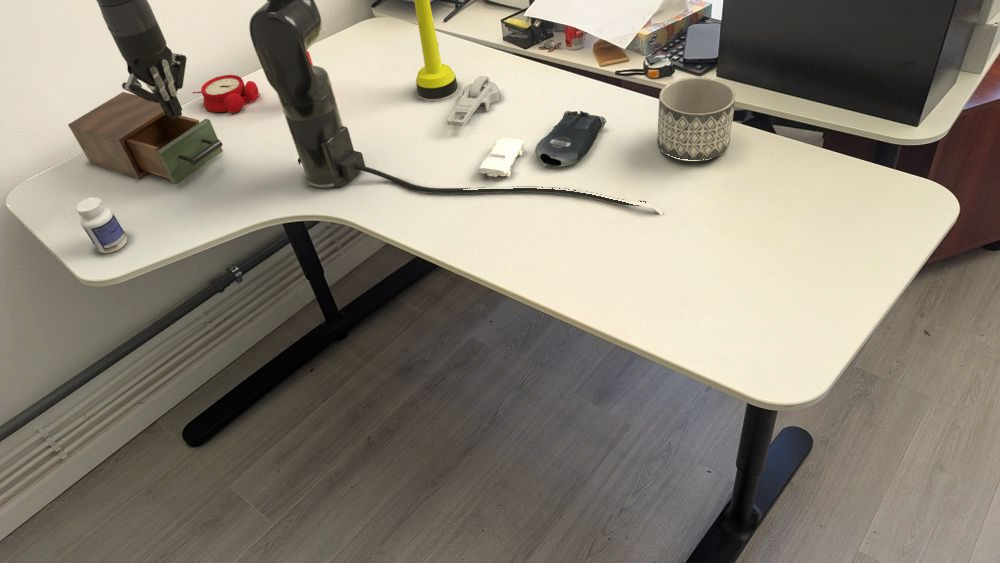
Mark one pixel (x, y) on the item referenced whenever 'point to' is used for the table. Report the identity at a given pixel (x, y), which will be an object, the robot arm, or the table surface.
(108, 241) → the pill bottle
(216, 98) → the alarm clock
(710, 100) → the planter
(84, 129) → the cabinet
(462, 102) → the zipper pull
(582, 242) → the table surface
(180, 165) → the drawer
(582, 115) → the electronic device
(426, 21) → the flashlight
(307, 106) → the robot arm
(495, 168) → the toy car
